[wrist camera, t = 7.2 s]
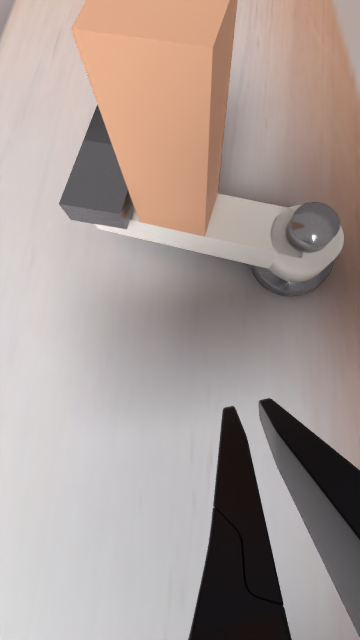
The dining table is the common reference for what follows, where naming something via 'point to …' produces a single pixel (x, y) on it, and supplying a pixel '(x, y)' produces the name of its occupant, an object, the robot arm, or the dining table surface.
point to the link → (181, 130)
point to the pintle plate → (286, 284)
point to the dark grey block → (97, 182)
